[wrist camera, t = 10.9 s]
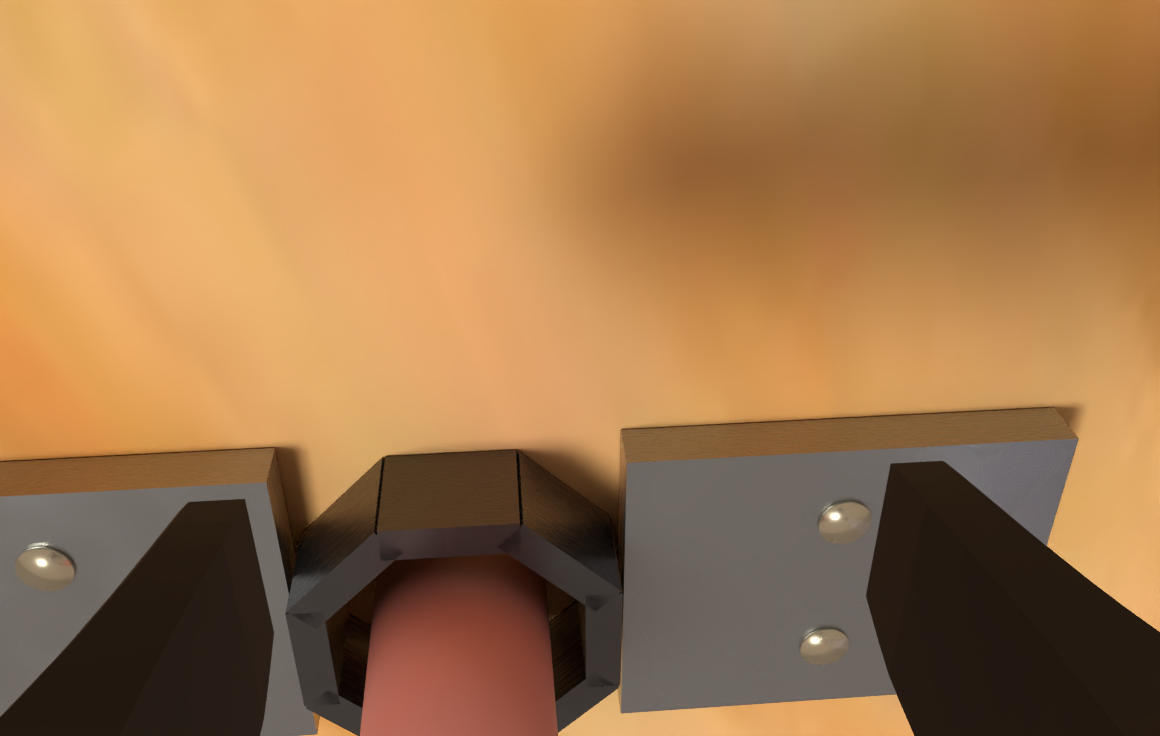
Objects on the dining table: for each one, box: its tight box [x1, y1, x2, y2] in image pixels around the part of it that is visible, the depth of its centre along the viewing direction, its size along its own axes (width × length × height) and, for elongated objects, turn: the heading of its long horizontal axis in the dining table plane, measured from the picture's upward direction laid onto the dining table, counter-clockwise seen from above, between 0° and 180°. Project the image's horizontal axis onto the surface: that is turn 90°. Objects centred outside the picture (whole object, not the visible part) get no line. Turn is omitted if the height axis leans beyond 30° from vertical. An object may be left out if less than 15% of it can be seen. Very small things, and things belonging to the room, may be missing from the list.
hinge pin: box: [360, 554, 558, 736], centre depth 23 cm, size 4×4×8 cm
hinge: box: [0, 408, 1078, 736], centre depth 25 cm, size 8×28×2 cm, turn 90°
